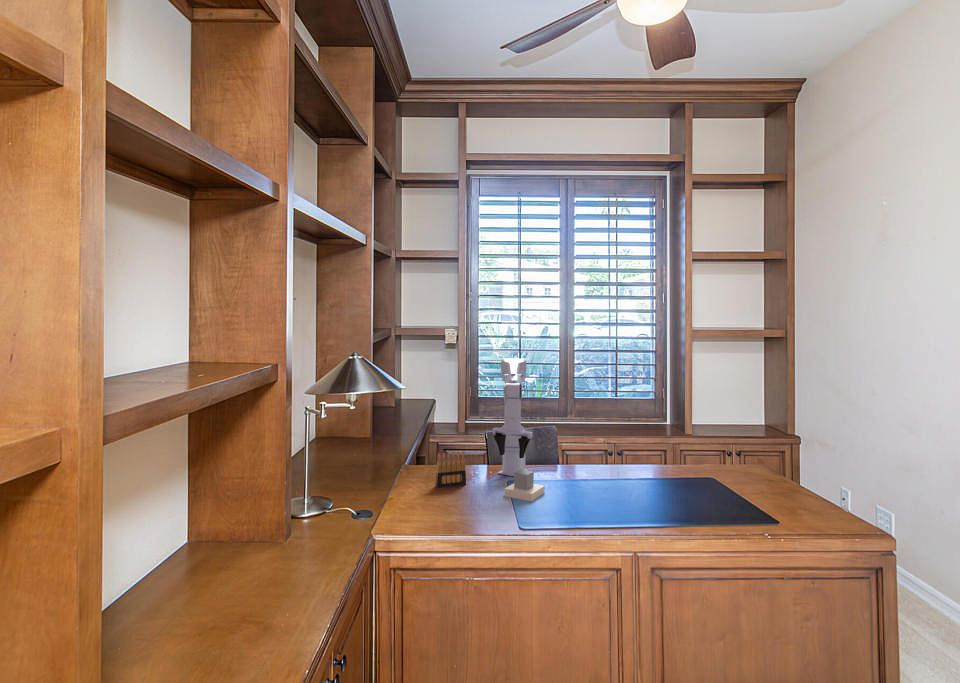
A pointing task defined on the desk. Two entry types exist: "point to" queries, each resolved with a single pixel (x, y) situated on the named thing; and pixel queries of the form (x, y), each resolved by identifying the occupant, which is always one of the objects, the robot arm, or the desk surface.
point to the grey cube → (523, 479)
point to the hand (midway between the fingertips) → (511, 456)
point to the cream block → (524, 492)
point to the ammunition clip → (450, 470)
